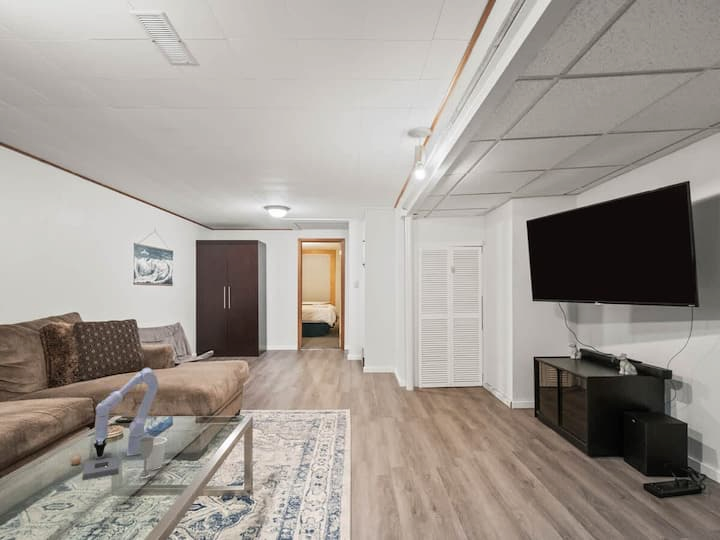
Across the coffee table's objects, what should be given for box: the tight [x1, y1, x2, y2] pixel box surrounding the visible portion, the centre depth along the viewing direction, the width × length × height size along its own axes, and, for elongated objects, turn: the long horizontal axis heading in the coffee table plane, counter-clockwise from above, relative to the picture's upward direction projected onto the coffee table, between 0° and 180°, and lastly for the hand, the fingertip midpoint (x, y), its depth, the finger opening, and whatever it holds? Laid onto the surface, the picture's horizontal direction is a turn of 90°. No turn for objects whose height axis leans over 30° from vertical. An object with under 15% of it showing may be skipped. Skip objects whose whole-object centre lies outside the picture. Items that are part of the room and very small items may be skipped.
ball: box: [70, 455, 82, 466], centre depth 202 cm, size 4×4×4 cm
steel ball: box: [95, 451, 106, 460], centre depth 209 cm, size 4×4×4 cm
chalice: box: [138, 435, 155, 477], centre depth 193 cm, size 7×7×18 cm
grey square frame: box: [82, 456, 119, 480], centre depth 197 cm, size 14×14×2 cm
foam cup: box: [146, 436, 168, 470], centre depth 203 cm, size 10×9×13 cm
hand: (100, 453), depth 209 cm, fingers open, 7 cm apart
